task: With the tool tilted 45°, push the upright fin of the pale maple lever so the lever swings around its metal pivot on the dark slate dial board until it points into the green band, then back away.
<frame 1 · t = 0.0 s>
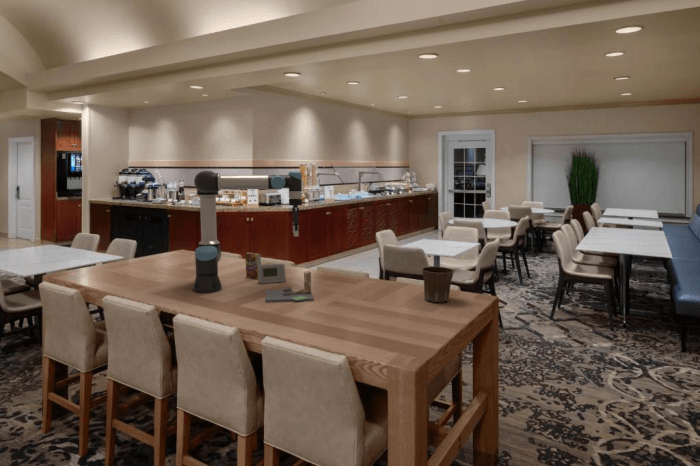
hand: (295, 234, 289), 28 cm above the table, tool pointing down, fingers open, 13 cm apart
candy box: (253, 278, 301), on the table
dial board: (287, 296, 259), on the table
lever: (296, 282, 260), point 7 cm above the table, hinge at 10.0°
digital clock: (271, 282, 290), on the table
plant pot: (436, 300, 254), on the table
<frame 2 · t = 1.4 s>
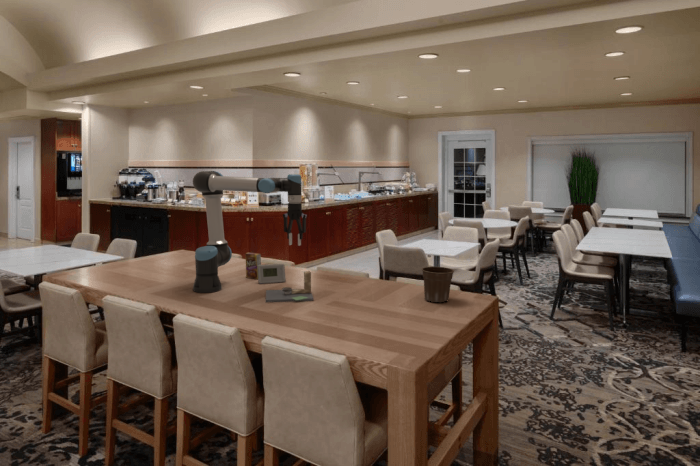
hand: (295, 245, 272), 25 cm above the table, tool pointing down, fingers open, 4 cm apart
nothing on the table moved.
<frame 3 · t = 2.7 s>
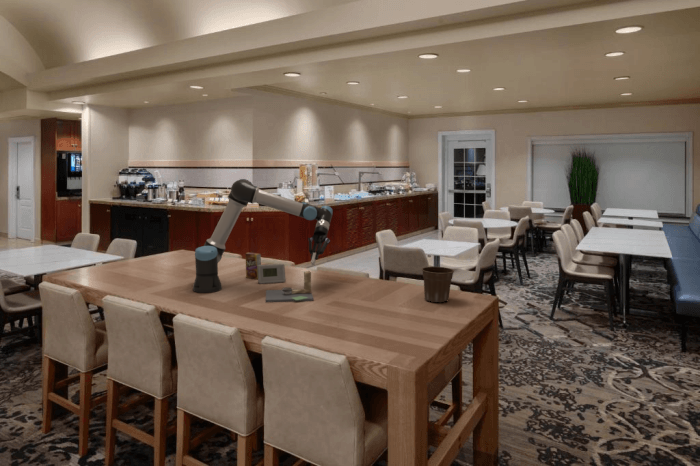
hand: (312, 263, 269), 15 cm above the table, tool tilted 45°, fingers closed
nothing on the table moved.
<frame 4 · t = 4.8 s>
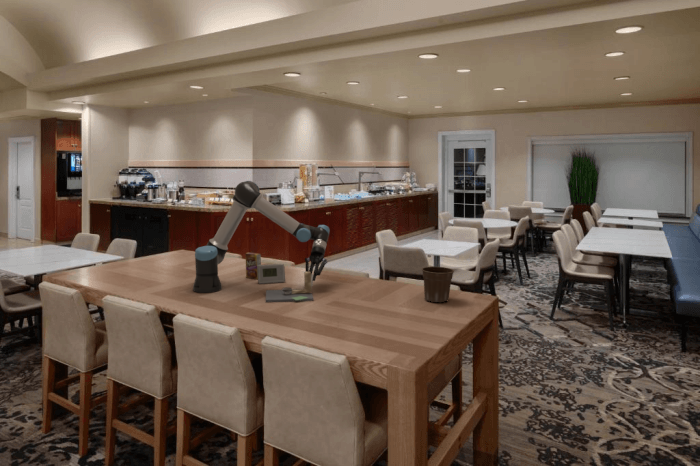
hand: (309, 285, 265), 5 cm above the table, tool tilted 45°, fingers closed
lever: (296, 282, 259), point 7 cm above the table, hinge at 7.1°, touching gripper
everything else where it was.
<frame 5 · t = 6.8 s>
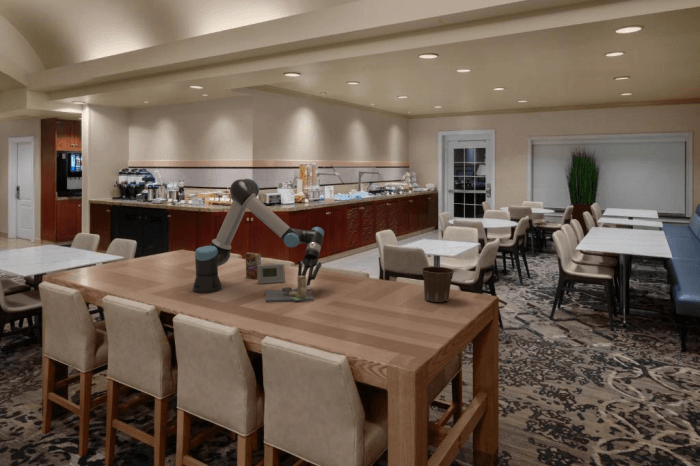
hand: (303, 290, 254), 5 cm above the table, tool tilted 45°, fingers closed, pressing on lever
lever: (293, 284, 255), point 7 cm above the table, hinge at -49.1°, touching gripper
everything else where it was.
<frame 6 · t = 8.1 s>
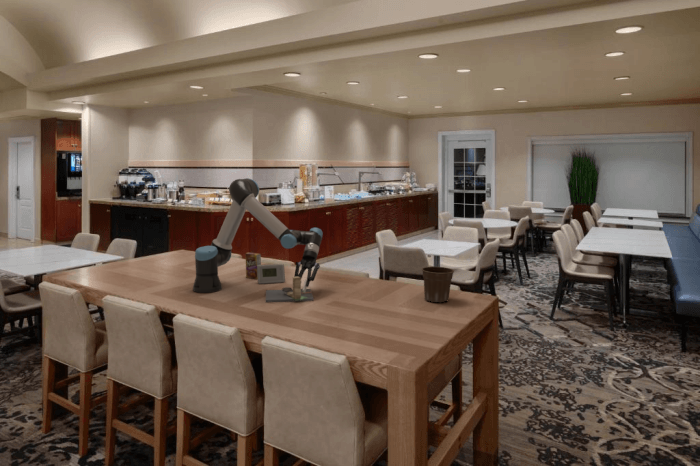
hand: (300, 291, 252), 5 cm above the table, tool tilted 45°, fingers open, 3 cm apart
lever: (291, 285, 254), point 7 cm above the table, hinge at -65.5°, touching gripper
everything else where it was.
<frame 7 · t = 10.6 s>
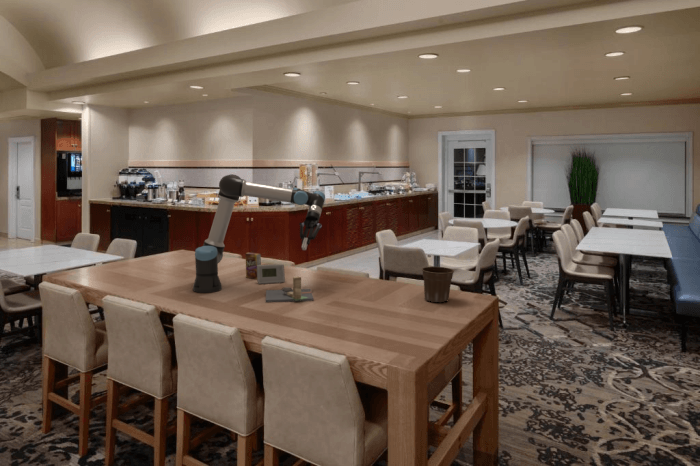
hand: (303, 248, 265), 24 cm above the table, tool tilted 45°, fingers closed
lever: (291, 285, 254), point 7 cm above the table, hinge at -64.4°
everything else where it was.
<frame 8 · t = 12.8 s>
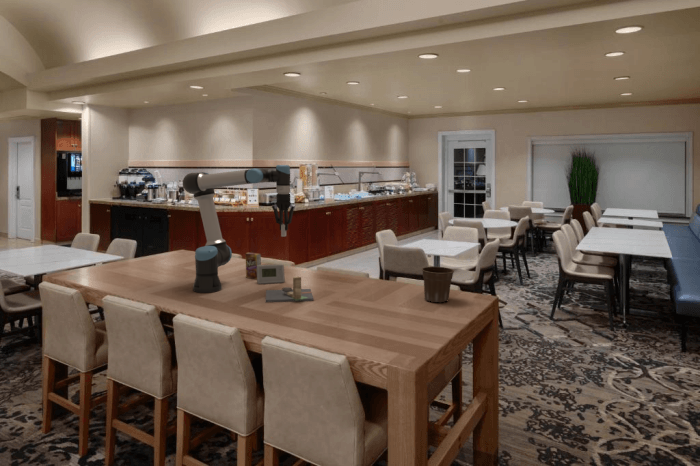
hand: (283, 236, 273), 29 cm above the table, tool pointing down, fingers closed
at the end: lever at -64° (first picture: +10°) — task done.
